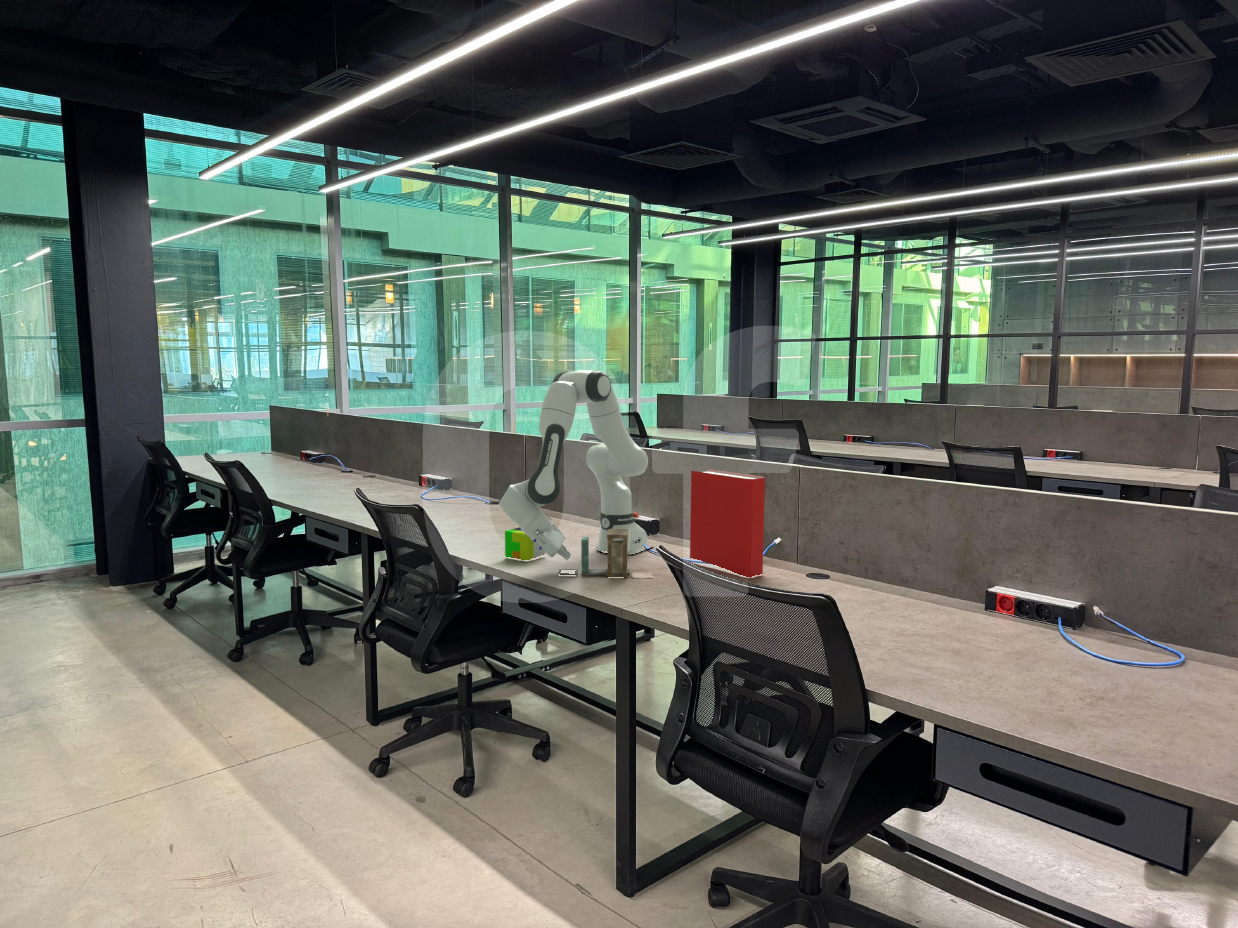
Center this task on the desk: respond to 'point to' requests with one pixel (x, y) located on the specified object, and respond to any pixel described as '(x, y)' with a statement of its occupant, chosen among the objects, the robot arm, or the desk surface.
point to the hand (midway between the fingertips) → (569, 557)
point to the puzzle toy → (521, 545)
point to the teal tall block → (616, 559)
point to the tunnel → (623, 535)
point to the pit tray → (568, 573)
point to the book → (728, 520)
